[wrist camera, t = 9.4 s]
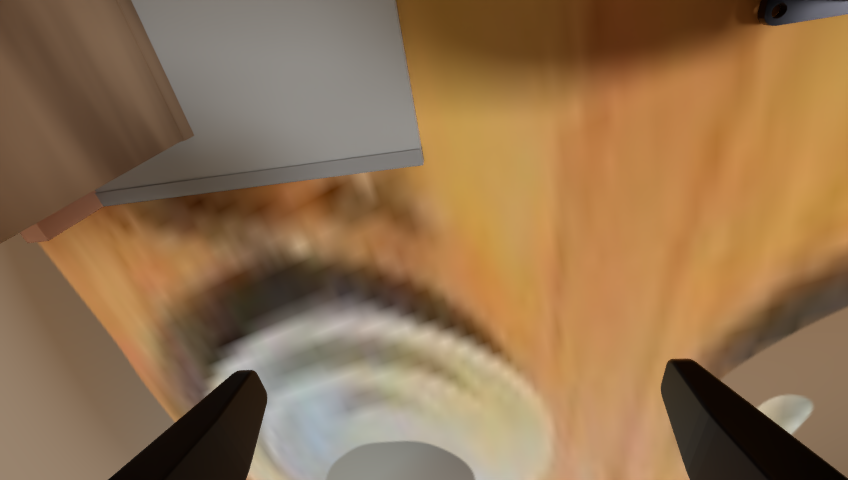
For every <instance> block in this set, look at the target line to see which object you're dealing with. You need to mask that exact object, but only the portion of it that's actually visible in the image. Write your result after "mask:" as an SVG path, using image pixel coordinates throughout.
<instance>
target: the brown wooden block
mask: <svg viewBox="0 0 848 480" xmlns="http://www.w3.org/2000/svg"><path fill="white" fill-rule="evenodd" d="M193 136H194V134H193V131H192V129H191V127H190V125H189V123H188V121H187V119H186V116H185V114H184V112H183V110H182V108H181V106H180V104H179V101H178V99H177V97H176V95H175V93H174V91H173V89H172V86H171V84H170V82H169V80H168V78H167V76H166V74H165V71H164V69H163V67H162V65H161V63H160V61H159V59H158V56H157V54H156V52H155V50H154V48H153V46H152V44H151V41H150V39H149V37H148V35H147V33H146V31H145V29H144V27H143V24H142V22H141V20H140V18H139V16H138V14H137V12H136V9H135V7H134V5H133V3H132V1H131V0H0V243H2V242H4V241H6V240H7V239H9V238H11V237H13V236H15V235H16V234H18V233H20V232H22V231H23V230H25V229H27V228H29V227H30V226H32V225H34V224H36V223H38V222H39V221H41V220H43V219H45V218H46V217H48V216H50V215H52V214H53V213H55V212H57V211H59V210H61V209H62V208H64V207H66V206H68V205H69V204H71V203H73V202H75V201H76V200H78V199H80V198H82V197H84V196H85V195H87V194H89V193H91V192H92V191H94V190H96V189H98V188H99V187H101V186H103V185H105V184H107V183H108V182H110V181H112V180H114V179H115V178H117V177H119V176H121V175H122V174H124V173H126V172H128V171H130V170H131V169H133V168H135V167H137V166H138V165H140V164H142V163H144V162H145V161H147V160H149V159H151V158H153V157H154V156H156V155H158V154H160V153H161V152H163V151H165V150H167V149H168V148H170V147H172V146H174V145H176V144H177V143H179V142H181V141H186V140H187V139H189V138H191V137H193Z"/></svg>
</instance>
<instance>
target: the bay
mask: <svg viewBox="0 0 848 480" xmlns="http://www.w3.org/2000/svg"><path fill="white" fill-rule="evenodd" d="M131 1H132V3H133V5H134V7H135V9H136V12H137V14H138V16H139V18H140V20H141V22H142V24H143V27H144V29H145V31H146V33H147V35H148V37H149V39H150V41H151V44H152V46H153V48H154V50H155V52H156V54H157V56H158V59H159V61H160V63H161V65H162V67H163V69H164V71H165V74H166V76H167V78H168V80H169V82H170V84H171V86H172V89H173V91H174V93H175V95H176V97H177V99H178V101H179V104H180V106H181V108H182V110H183V112H184V114H185V116H186V119H187V121H188V123H189V125H190V127H191V129H192V131H193V134H194V136H193V137H191V138H189V139H187V140H186V141H181V142H179V143H177V144H176V145H174V146H172V147H170V148H168V149H167V150H165V151H163V152H161V153H160V154H158V155H156V156H154V157H153V158H151V159H149V160H147V161H145V162H144V163H142V164H140V165H138V166H137V167H135V168H133V169H131V170H130V171H128V172H126V173H124V174H122V175H121V176H119V177H117V178H115V179H114V180H112V181H110V182H108V183H107V184H105V185H103V186H101V187H99V188H98V189H96V190H94V191H92V192H91V193H89V194H87V195H85V196H84V197H82V198H80V199H78V200H76V201H75V202H73V203H71V204H69V205H68V206H66V207H64V208H62V209H61V210H59V211H57V212H55V213H53V214H52V215H50V216H48V217H46V218H45V219H43V220H41V221H39V222H38V223H36V224H34V225H32V226H30V227H29V228H27V229H25V230H23V231H22V232H20V234H21V235H22V236H23V238H24V239H25V240H26V242H27V243H32V242H41V241H49V240H51V239H52V238H54V237H55V236H57V235H59V234H60V233H62V232H63V231H65V230H67V229H68V228H70V227H71V226H73V225H75V224H76V223H78V222H79V221H81V220H83V219H84V218H86V217H87V216H89V215H91V214H92V213H94V212H95V211H97V210H99V209H100V208H102V207H103V206H111V205H118V204H126V203H134V202H142V201H149V200H157V199H165V198H172V197H180V196H188V195H196V194H203V193H211V192H219V191H226V190H234V189H242V188H250V187H257V186H265V185H273V184H280V183H288V182H296V181H303V180H311V179H319V178H327V177H334V176H342V175H350V174H357V173H365V172H373V171H381V170H388V169H396V168H404V167H411V166H419V165H423V163H424V159H423V153H422V147H421V141H420V136H419V130H418V124H417V118H416V113H415V107H414V101H413V95H412V90H411V84H410V78H409V72H408V67H407V61H406V55H405V49H404V44H403V38H402V32H401V26H400V21H399V15H398V9H397V3H396V0H131Z"/></svg>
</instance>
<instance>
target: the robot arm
mask: <svg viewBox="0 0 848 480" xmlns="http://www.w3.org/2000/svg"><path fill="white" fill-rule="evenodd" d="M777 4H779V5H780V10H779V12H778V13H777V14H776V15H775V16H774V17H772V10H773V8H774V7H775V6H776V5H777ZM845 14H848V0H761V2H760V6H759V10H758V20H759V22H760V23H762V24H763V25H771V26H777V25H783V24H789V23H796V22H802V21H808V20H814V19H820V18H827V17H833V16H839V15H845ZM661 394H662V398H663V401H664V404H665V407H666V410H667V413H668V416H669V419H670V423H671V426H672V429H673V432H674V435H675V438H676V441H677V444H678V447H679V450H680V453H681V456H682V460H683V462H684V465H685V468H686V471H687V474H688V476H689V478H690V480H848V478H847V477H845V476H844V475H843V474H841V473H840V472H839V471H838V470H836V469H835V468H834V467H832V466H831V465H830V464H828V463H827V462H826V461H824V460H823V459H822V458H821V457H819V456H818V455H817V454H815V453H814V452H813V451H811V450H810V449H809V448H807V447H806V446H805V445H803V444H802V443H801V442H800V441H798V440H797V439H796V438H794V437H793V436H792V435H791V434H789V433H788V432H787V431H785V430H784V429H783V428H781V427H780V426H779V425H778V424H776V423H775V422H774V421H772V420H771V419H770V418H768V417H767V416H766V415H765V414H763V413H762V412H761V411H759V410H758V409H757V408H755V407H754V406H753V405H751V404H750V403H749V402H748V401H746V400H745V399H744V398H742V397H741V396H740V395H738V394H737V393H736V392H734V391H733V390H732V389H731V388H729V387H728V386H727V385H725V384H724V383H722V382H721V381H720V380H719V379H718V378H716V377H715V376H714V375H712V374H711V373H710V372H708V371H707V370H706V369H705V368H703V367H702V366H701V365H699V364H698V363H697V362H695V361H693V360H691V359H670V360H669V361H668V362H667V365H666V368H665V372H664V376H663V380H662V383H661ZM266 404H267V392H266V390H265V388H264V386H263V384H262V382H261V380H260V378H259V376H258V374H257V373H256V372H255V371H253V370H241V371H236V372H235V373H233V374H232V375H231V376H230V377H228V378H227V379H226V380H225V381H224V382H223V383H221V384H220V385H219V386H218V387H217V388H216V389H214V390H213V391H212V392H211V393H210V394H208V395H207V396H206V397H205V398H204V399H203V400H201V401H200V402H199V403H198V404H197V405H195V406H194V407H193V408H192V409H191V410H190V411H188V412H187V413H186V414H185V415H184V416H183V417H181V418H180V419H179V420H178V421H177V422H175V423H174V424H173V425H172V426H171V427H170V428H168V429H167V430H166V431H165V432H164V433H163V434H161V435H160V436H159V437H158V438H157V439H155V440H154V441H153V442H152V443H151V444H150V445H148V446H147V447H146V448H145V449H144V450H143V451H141V452H140V453H139V454H138V455H137V456H135V457H134V458H133V459H132V460H131V461H130V462H128V463H127V464H126V465H125V466H124V467H122V468H121V469H120V470H119V471H118V472H117V473H115V474H114V475H113V476H112V477H111V478H110V479H108V480H246V478H247V475H248V472H249V469H250V465H251V462H252V459H253V455H254V451H255V447H256V443H257V439H258V435H259V431H260V428H261V424H262V420H263V416H264V412H265V408H266Z"/></svg>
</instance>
